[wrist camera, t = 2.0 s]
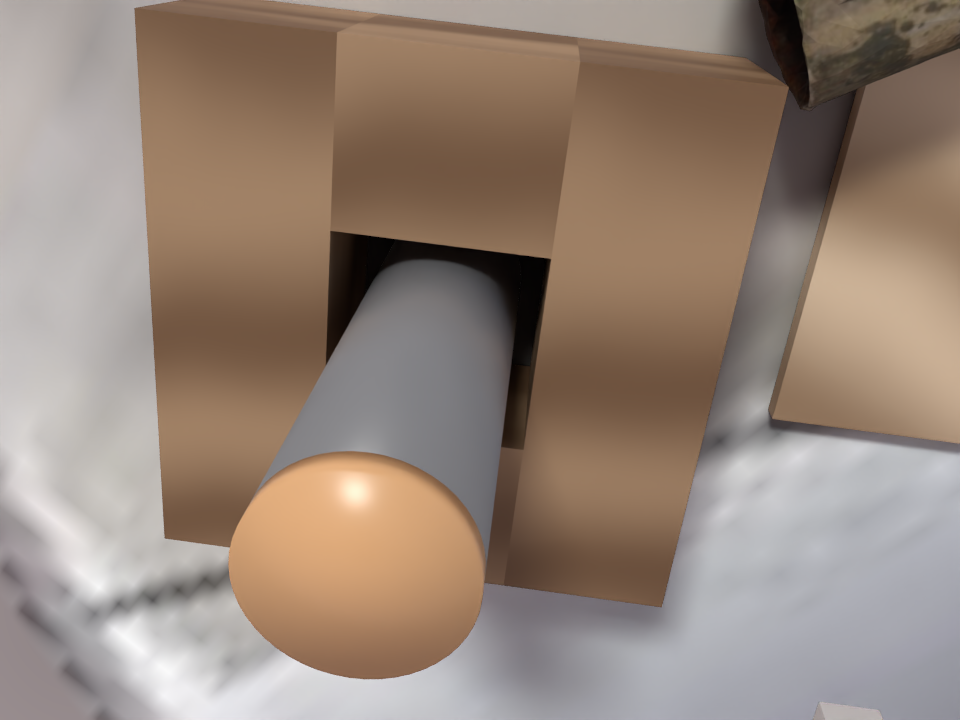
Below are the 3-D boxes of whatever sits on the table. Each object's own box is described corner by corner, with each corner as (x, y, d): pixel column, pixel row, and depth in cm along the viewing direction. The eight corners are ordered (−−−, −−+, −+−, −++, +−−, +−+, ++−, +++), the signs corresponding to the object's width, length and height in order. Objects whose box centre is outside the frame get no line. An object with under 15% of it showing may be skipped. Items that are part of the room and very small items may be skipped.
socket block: (215, -6, 24) (134, 8, 19) (745, 57, 23) (789, 86, 19) (224, 447, 30) (164, 538, 25) (646, 504, 29) (661, 607, 25)
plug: (391, 201, 26) (226, 455, 13) (529, 219, 26) (497, 492, 13) (383, 329, 28) (230, 660, 15) (512, 345, 27) (469, 694, 15)
